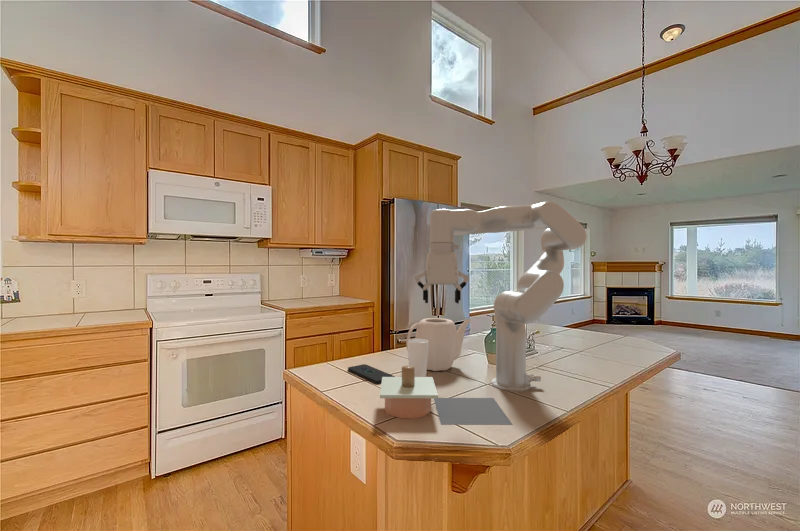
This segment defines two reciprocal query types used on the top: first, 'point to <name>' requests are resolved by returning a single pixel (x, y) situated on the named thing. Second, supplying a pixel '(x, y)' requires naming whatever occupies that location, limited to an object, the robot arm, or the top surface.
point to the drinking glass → (418, 356)
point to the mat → (470, 411)
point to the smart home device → (369, 373)
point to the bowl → (407, 407)
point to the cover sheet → (404, 392)
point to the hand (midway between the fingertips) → (441, 302)
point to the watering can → (440, 341)
